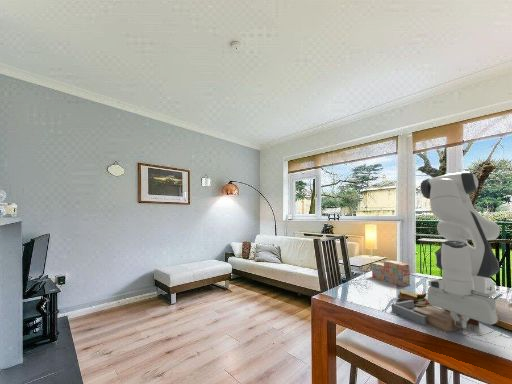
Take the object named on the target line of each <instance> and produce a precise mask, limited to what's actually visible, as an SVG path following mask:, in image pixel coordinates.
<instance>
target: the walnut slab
mask: <svg viewBox="0 0 512 384" xmlns="http://www.w3.org/2000/svg"><path fill="white" fill-rule="evenodd" d="M412 311H414V312H416V313H419V314H421V315H424V316H426V319H427V325H428V326H430V327H432V328H434V329H437V330H439V331H442V332H444V331H445V332H444V333H448V331H449V332H452V330H453V331H456V330H460V329H463V328H462V327H459V326H456V325H455V323H454V319H453V318H452V316H451V314H450V312H448V311H445V309H442V308H439V307H436V306H433V305H431V306H427V307H417V308H412ZM457 316H458V318H459V320H460V321H462V320H463V319H464V318H462V316H459V315H457Z"/></svg>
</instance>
